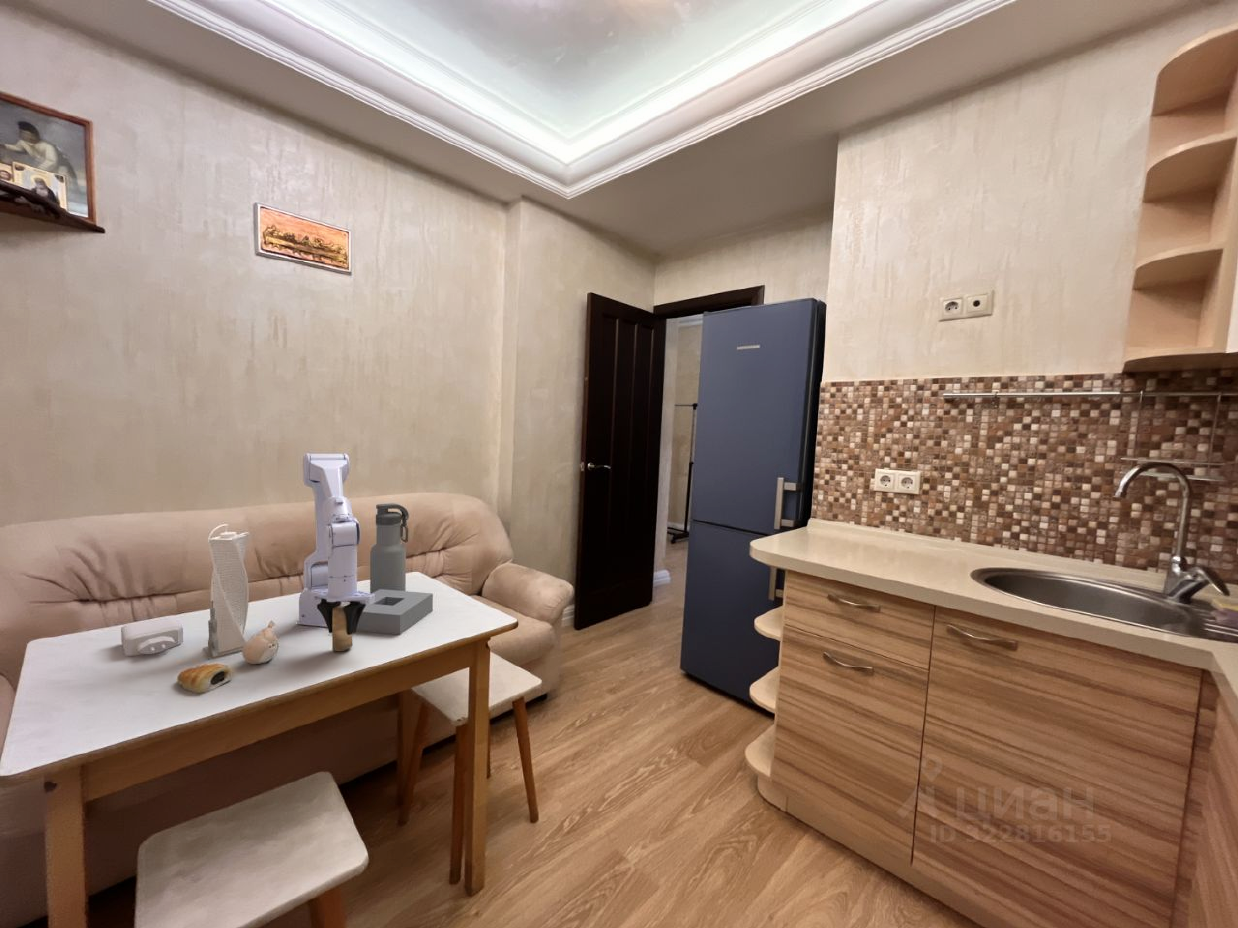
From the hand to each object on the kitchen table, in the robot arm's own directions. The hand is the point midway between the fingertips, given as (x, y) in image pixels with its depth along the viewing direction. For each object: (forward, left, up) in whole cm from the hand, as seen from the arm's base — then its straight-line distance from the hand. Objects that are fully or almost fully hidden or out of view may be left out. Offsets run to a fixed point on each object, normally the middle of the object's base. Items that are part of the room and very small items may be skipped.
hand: (342, 632), depth 108 cm
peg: (0, 0, -3) cm, 3 cm away
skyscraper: (-25, -4, -4) cm, 26 cm away
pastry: (-16, -18, -5) cm, 24 cm away
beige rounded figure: (-13, -8, -4) cm, 16 cm away
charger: (-40, -8, -5) cm, 41 cm away
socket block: (0, +18, -4) cm, 18 cm away
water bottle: (-11, +35, -4) cm, 37 cm away
